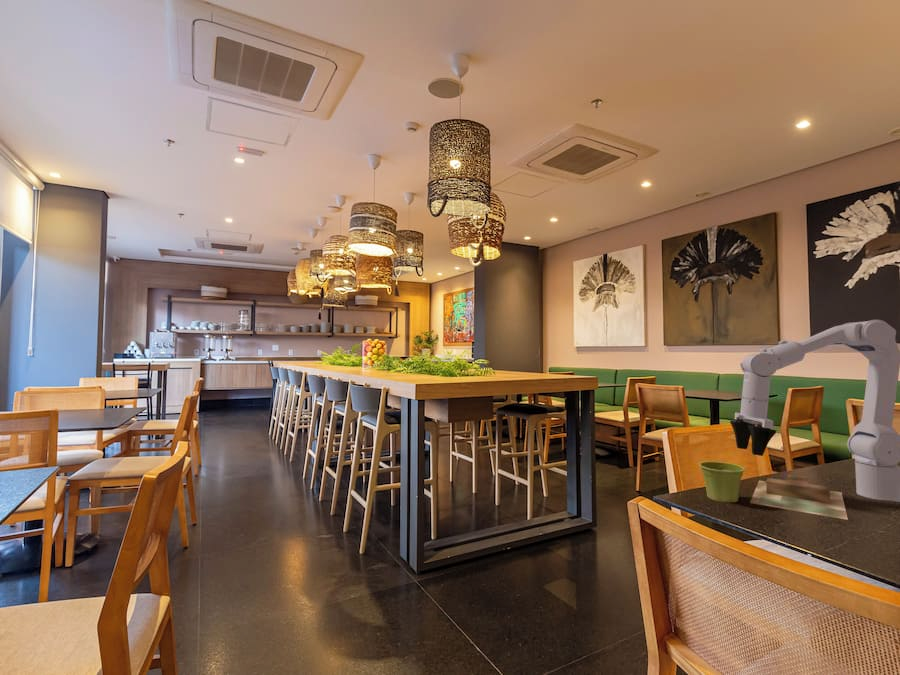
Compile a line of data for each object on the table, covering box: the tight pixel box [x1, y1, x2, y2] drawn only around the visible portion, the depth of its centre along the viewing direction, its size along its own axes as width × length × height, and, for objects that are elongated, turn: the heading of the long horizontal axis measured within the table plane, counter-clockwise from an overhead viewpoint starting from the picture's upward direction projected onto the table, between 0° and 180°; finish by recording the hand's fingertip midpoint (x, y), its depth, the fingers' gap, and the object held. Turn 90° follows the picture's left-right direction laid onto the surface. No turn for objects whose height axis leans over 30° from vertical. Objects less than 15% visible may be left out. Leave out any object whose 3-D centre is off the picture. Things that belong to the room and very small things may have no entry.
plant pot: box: [698, 461, 746, 503], centre depth 106 cm, size 9×9×9 cm
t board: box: [749, 480, 849, 521], centre depth 106 cm, size 17×24×1 cm
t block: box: [766, 473, 831, 504], centre depth 110 cm, size 12×12×3 cm
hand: (749, 451), depth 113 cm, fingers open, 7 cm apart
